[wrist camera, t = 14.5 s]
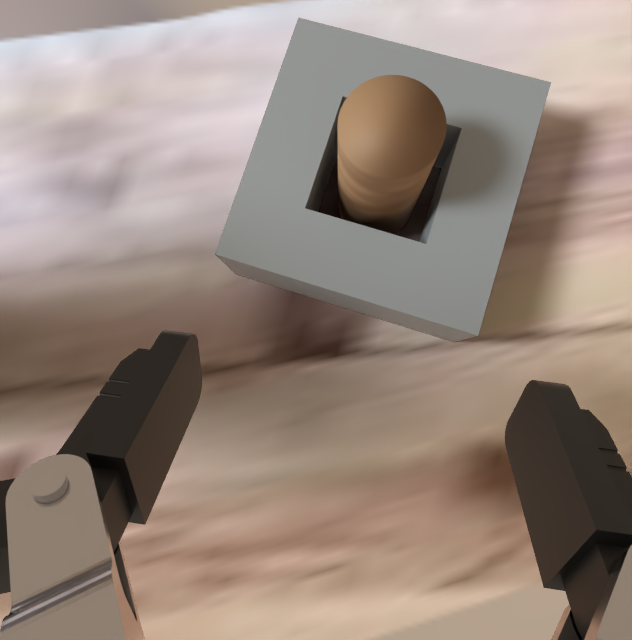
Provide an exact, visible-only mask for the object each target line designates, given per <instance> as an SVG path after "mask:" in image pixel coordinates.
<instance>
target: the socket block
mask: <svg viewBox="0 0 632 640" xmlns="http://www.w3.org/2000/svg"><path fill="white" fill-rule="evenodd" d="M384 75H402V76H407V77H410V78H413V79H415V80H418V81H420V82H421V83H423V84H425V85H426V86H427V87H428V88H430V89H431V90H432V91H433V92H434V93H435V94H436V96H437V97H438V99H439V100H440V102H441V104H442V106H443V108H444V111H445V115H446V122H447V128H446V135H445V140H444V142H443V145H442V147H441V149H440V152H439V154H438V156H437V158H436V160H435V163H434V165H433V166H434V167H438V168H441V172H440V175H439V178H438V182H437V185H436V188H435V191H434V195H433V198H432V201H431V204H430V208H429V211H428V214H427V217H426V221H425V224H424V227H423V230H422V234H421V237H420V240H419V242H418V241H414V240H411V239H408V238H404V237H401V236H397V235H394V234H391V233H387V232H384V231H381V230H377V229H374V228H370V227H367V226H364V225H360V224H357V223H353V222H350V221H347V220H343V219H340V218H336V217H333V216H330V215H326V214H323V213H319V209H320V206H321V203H322V200H323V197H324V194H325V191H326V188H327V185H328V182H329V179H330V176H331V173H332V170H333V167H334V164H335V161H336V158H337V155H338V127H337V124H338V117H339V113H340V110H341V107H342V105H343V103H344V101H345V100H346V98H347V97H348V96H349V94H350V93H351V92H352V91H353V90H354V89H355V88H357V87H358V86H359V85H360V84H362V83H364V82H365V81H368V80H370V79H372V78H375V77H379V76H384ZM550 84H551V82H547V81H543V80H539V79H535V78H532V77H528V76H524V75H520V74H516V73H512V72H508V71H504V70H500V69H496V68H493V67H489V66H485V65H481V64H477V63H473V62H469V61H465V60H461V59H458V58H454V57H450V56H446V55H442V54H438V53H434V52H430V51H426V50H422V49H419V48H415V47H411V46H407V45H403V44H399V43H395V42H391V41H387V40H383V39H380V38H376V37H372V36H368V35H364V34H360V33H356V32H352V31H348V30H345V29H341V28H337V27H333V26H329V25H325V24H321V23H317V22H313V21H309V20H306V19H302V18H298V21H297V24H296V26H295V29H294V32H293V35H292V38H291V40H290V43H289V46H288V49H287V52H286V55H285V57H284V60H283V63H282V66H281V69H280V72H279V74H278V77H277V80H276V83H275V86H274V89H273V91H272V94H271V97H270V100H269V103H268V106H267V108H266V111H265V114H264V117H263V120H262V123H261V125H260V128H259V131H258V134H257V137H256V140H255V142H254V145H253V148H252V151H251V154H250V157H249V159H248V162H247V165H246V168H245V171H244V173H243V176H242V179H241V182H240V185H239V188H238V190H237V193H236V196H235V199H234V202H233V205H232V207H231V210H230V213H229V216H228V219H227V222H226V224H225V227H224V230H223V233H222V236H221V239H220V241H219V244H218V247H217V250H216V253H215V255H216V256H217V257H218V258H219V259H220V260H221V261H222V262H223V263H225V264H226V265H227V266H228V267H229V268H230V269H231V270H232V271H233V272H234V273H235V274H237V275H240V276H244V277H247V278H250V279H253V280H256V281H260V282H263V283H266V284H269V285H272V286H276V287H279V288H282V289H285V290H288V291H292V292H295V293H298V294H301V295H304V296H308V297H311V298H314V299H317V300H320V301H324V302H327V303H330V304H333V305H337V306H340V307H343V308H346V309H349V310H353V311H356V312H359V313H362V314H365V315H369V316H372V317H375V318H378V319H381V320H385V321H388V322H391V323H394V324H397V325H401V326H404V327H407V328H410V329H413V330H417V331H420V332H423V333H426V334H430V335H433V336H436V337H439V338H442V339H446V340H449V341H452V342H457V341H460V340H464V339H468V338H472V337H475V336H478V335H479V331H480V328H481V325H482V321H483V318H484V314H485V311H486V307H487V304H488V300H489V297H490V293H491V290H492V286H493V283H494V279H495V276H496V272H497V269H498V265H499V262H500V258H501V255H502V251H503V248H504V244H505V241H506V237H507V234H508V230H509V227H510V223H511V220H512V217H513V213H514V210H515V206H516V203H517V199H518V196H519V192H520V189H521V185H522V182H523V178H524V175H525V171H526V168H527V164H528V161H529V157H530V154H531V150H532V147H533V143H534V140H535V136H536V133H537V129H538V126H539V122H540V119H541V115H542V112H543V109H544V105H545V102H546V98H547V95H548V91H549V88H550Z"/></svg>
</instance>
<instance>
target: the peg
mask: <svg viewBox="0 0 632 640" xmlns="http://www.w3.org/2000/svg"><path fill="white" fill-rule="evenodd" d="M337 127H338V209H339V213H340V216H341V218H342V219H343V220H347V221H350V222H353V223H357V224H360V225H364V226H367V227H370V228H374V229H377V230H381V231H384V232H387V233H391V234H395V233H397V232H398V231H399V230H401V229H402V228H403V227H404V226H405V224H406V223H407V221H408V219H409V218H410V215H411V213H412V211H413V209H414V207H415V204H416V202H417V200H418V198H419V196H420V193H421V191H422V189H423V187H424V185H425V182H426V180H427V178H428V176H429V174H430V171H431V169H432V167H433V165H434V163H435V160H436V158H437V156H438V154H439V152H440V149H441V147H442V145H443V142H444V140H445V135H446V128H447V122H446V115H445V111H444V108H443V106H442V104H441V102H440V100H439V99H438V97H437V96H436V94H435V93H434V92H433V91H432V90H431V89H430V88H428V87H427V86H426V85H425V84H423V83H421V82H420V81H418V80H415V79H413V78H410V77H407V76H402V75H384V76H379V77H375V78H372V79H370V80H368V81H365V82H364V83H362V84H360V85H359V86H358V87H357V88H355V89H354V90H353V91H352V92H351V93H350V94H349V96H348V97H347V98H346V100H345V101H344V103H343V105H342V107H341V110H340V113H339V117H338V124H337Z"/></svg>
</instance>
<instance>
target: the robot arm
mask: <svg viewBox="0 0 632 640" xmlns="http://www.w3.org/2000/svg"><path fill="white" fill-rule="evenodd" d="M201 388H202V375H201V366H200V357H199V349H198V340H197V337H196V335H195V334H189V333H181V332H174V331H166V330H165V331H163V332H161V334H160V335H159V337H158V338H157V340H156V341H155V343H154V345H153V346H152V348H151V349H150V350H148V349H140V348H139V349H137V350H136V351H135V352H133V353H132V354H131V355H129V356H128V357H127V358H125V359H124V360H122V361H121V362H120V364H119V365H118V366H117V368H116V369H115V371H114V372H113V374H112V375H111V377H110V378H109V382H107V383H106V384H105V385H104V387H103V388H102V390H101V391H100V395H99V396H97V397H96V399H95V400H94V401H93V403H92V404H91V406H90V407H89V409H88V410H87V412H86V413H85V415H84V416H83V418H82V419H81V420H80V422H79V423H78V425H77V426H76V428H75V429H74V431H73V432H72V434H71V435H70V437H69V438H68V439H67V441H66V442H65V444H64V445H63V447H62V448H61V449H60V451H59V452H58V453H57V454H56V455H54V456H50V457H47V458H44V459H42V460H39V461H37V462H36V463H34V464H32V465H31V466H29V467H28V468H26V469H25V470H24V471H23V472H21V473H20V474H19V475H18V477H17V478H15V479H10V480H4V481H0V594H2V593H7V592H11V611H10V614H9V615H8V616H6V617H5V618H4V619H3V621H2V624H1V629H0V640H145V637H144V634H143V631H142V627H141V624H140V620H139V616H138V612H137V608H136V604H135V600H134V596H133V592H132V588H131V584H130V580H129V576H128V572H127V567H126V563H125V559H124V555H123V551H122V547H121V543H120V539H121V537H122V535H123V533H124V530H125V528H126V526H127V524H128V522H132V523H138V524H146V521H147V519H148V517H149V514H150V512H151V510H152V507H153V505H154V503H155V501H156V498H157V496H158V494H159V491H160V489H161V487H162V484H163V482H164V480H165V478H166V475H167V473H168V471H169V468H170V466H171V464H172V461H173V459H174V457H175V454H176V452H177V450H178V448H179V445H180V443H181V441H182V438H183V436H184V434H185V431H186V429H187V427H188V425H189V422H190V420H191V418H192V415H193V413H194V411H195V408H196V406H197V404H198V401H199V398H200V394H201ZM505 444H506V449H507V453H508V457H509V460H510V464H511V468H512V471H513V475H514V479H515V483H516V486H517V490H518V494H519V497H520V501H521V505H522V508H523V512H524V516H525V519H526V523H527V527H528V531H529V534H530V538H531V542H532V545H533V549H534V553H535V556H536V560H537V564H538V567H539V571H540V575H541V579H542V582H543V586H544V588H550V589H556V590H563V591H566V594H567V598H568V601H569V604H570V605H569V606H568V607H567V608H566V609H565V611H564V612H563V614H562V617H561V619H560V621H559V624H558V626H557V628H556V630H555V632H554V635H553V637H552V639H551V640H632V477H631V475H630V473H629V472H627V471H626V468H627V467H626V465H625V463H624V461H623V459H622V458H621V456H620V454H618V453H617V451H618V450H617V448H616V446H615V444H614V442H613V440H612V438H611V436H610V434H609V432H608V430H607V429H606V428H605V427H604V425H603V424H602V423H601V422H600V421H599V420H598V419H597V418H596V417H595V416H594V415H593V414H592V413H591V412H590V411H589V410H585V409H580V407H579V405H578V403H577V401H576V399H575V397H574V395H573V393H572V391H571V389H570V388H569V386H567V385H565V384H558V383H551V382H543V381H536V380H532V381H530V382H529V383H528V384H527V385H526V387H525V389H524V391H523V393H522V395H521V397H520V399H519V401H518V403H517V405H516V407H515V409H514V410H513V412H512V414H511V416H510V418H509V420H508V423H507V426H506V431H505Z"/></svg>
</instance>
